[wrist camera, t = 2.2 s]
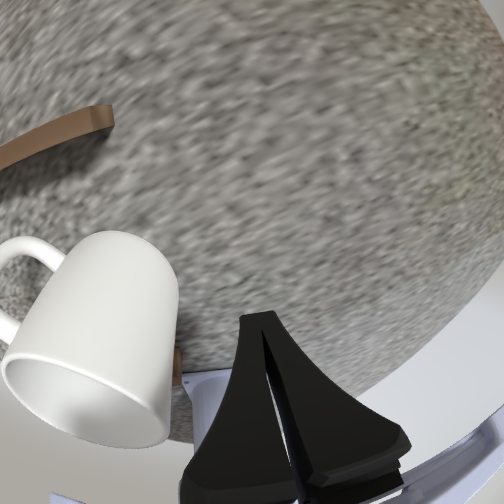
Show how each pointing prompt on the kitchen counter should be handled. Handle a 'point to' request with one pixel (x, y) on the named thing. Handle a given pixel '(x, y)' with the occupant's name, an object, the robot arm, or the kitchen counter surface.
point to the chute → (57, 134)
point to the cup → (96, 340)
